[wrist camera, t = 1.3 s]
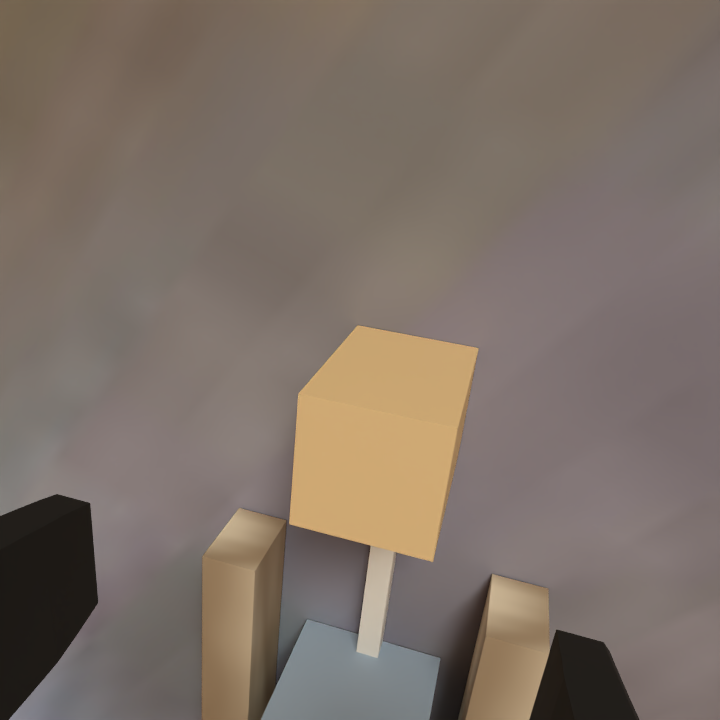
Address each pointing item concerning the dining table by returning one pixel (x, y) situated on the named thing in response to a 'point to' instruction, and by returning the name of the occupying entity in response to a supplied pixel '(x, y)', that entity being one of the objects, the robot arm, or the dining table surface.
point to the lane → (262, 617)
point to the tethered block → (373, 511)
